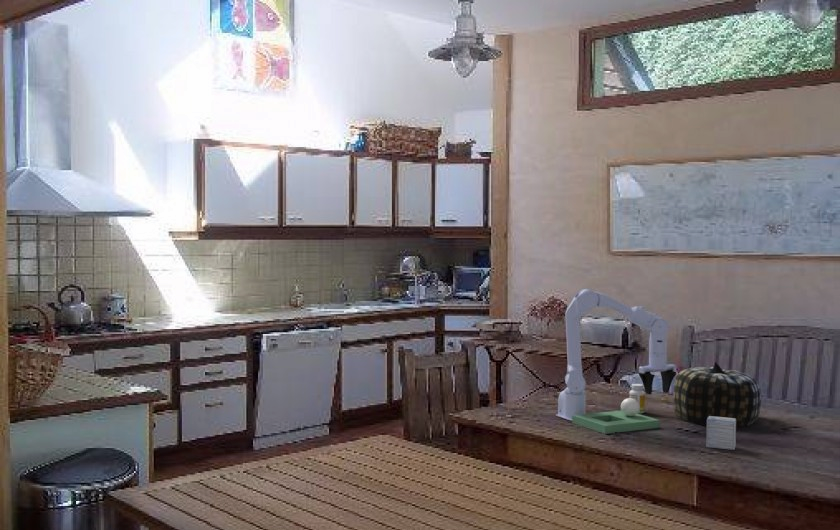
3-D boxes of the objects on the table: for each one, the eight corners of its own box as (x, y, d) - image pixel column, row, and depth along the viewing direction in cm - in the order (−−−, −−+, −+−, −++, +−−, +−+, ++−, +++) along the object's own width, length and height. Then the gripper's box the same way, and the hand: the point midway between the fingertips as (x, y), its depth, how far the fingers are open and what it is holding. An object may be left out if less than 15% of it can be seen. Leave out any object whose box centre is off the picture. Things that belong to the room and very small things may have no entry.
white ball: (616, 415, 283) (617, 397, 283) (630, 413, 286) (631, 395, 286) (628, 418, 278) (629, 400, 278) (643, 417, 281) (643, 399, 281)
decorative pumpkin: (779, 421, 288) (780, 363, 288) (725, 432, 272) (727, 369, 271) (705, 406, 313) (707, 352, 312) (652, 415, 296) (653, 358, 296)
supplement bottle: (643, 410, 304) (644, 383, 303) (645, 413, 298) (646, 386, 298) (628, 410, 304) (628, 383, 304) (630, 413, 299) (630, 385, 299)
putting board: (572, 422, 282) (572, 415, 282) (624, 417, 292) (624, 410, 292) (604, 433, 267) (605, 425, 267) (659, 427, 277) (659, 420, 277)
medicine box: (735, 447, 252) (736, 418, 252) (734, 450, 248) (735, 421, 248) (707, 444, 255) (708, 415, 255) (706, 447, 251) (706, 418, 251)
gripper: (649, 355, 279) (648, 396, 280) (682, 353, 286) (681, 393, 286) (634, 352, 286) (634, 393, 286) (667, 350, 292) (667, 390, 293)
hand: (657, 393), depth 287 cm, fingers open, 7 cm apart
